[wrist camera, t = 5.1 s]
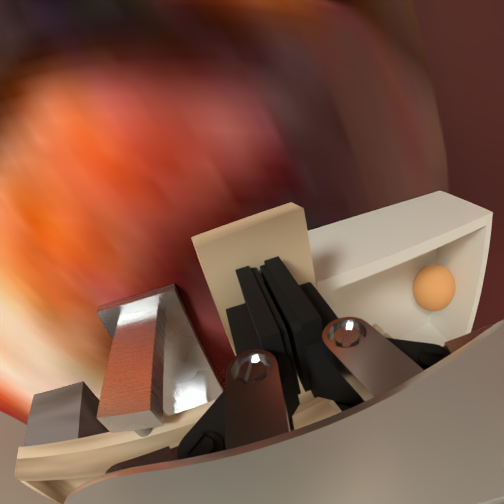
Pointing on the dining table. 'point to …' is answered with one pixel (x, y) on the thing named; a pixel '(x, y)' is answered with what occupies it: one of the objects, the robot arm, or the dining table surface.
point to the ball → (434, 287)
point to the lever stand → (152, 362)
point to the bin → (404, 265)
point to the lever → (179, 424)
